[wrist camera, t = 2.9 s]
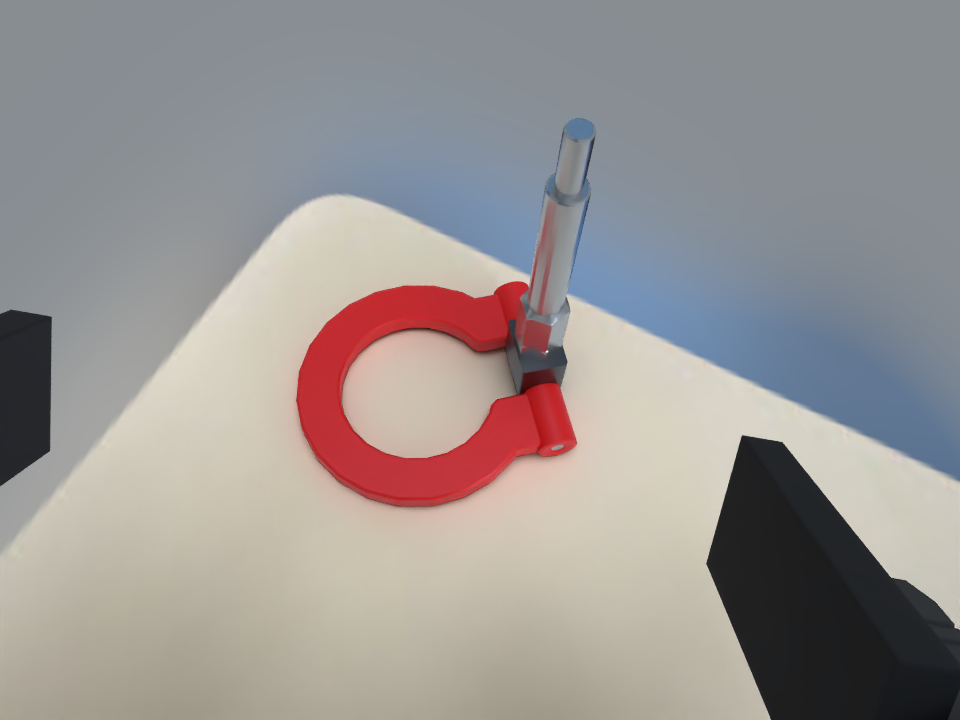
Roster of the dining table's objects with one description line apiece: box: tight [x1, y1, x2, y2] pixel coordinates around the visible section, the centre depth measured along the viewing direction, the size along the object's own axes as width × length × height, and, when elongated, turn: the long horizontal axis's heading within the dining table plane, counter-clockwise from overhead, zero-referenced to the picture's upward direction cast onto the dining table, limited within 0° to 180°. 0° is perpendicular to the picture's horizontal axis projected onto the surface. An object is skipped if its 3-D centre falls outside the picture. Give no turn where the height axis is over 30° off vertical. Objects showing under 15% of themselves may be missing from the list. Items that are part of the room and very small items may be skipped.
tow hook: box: [296, 118, 596, 506], centre depth 24 cm, size 8×13×9 cm
